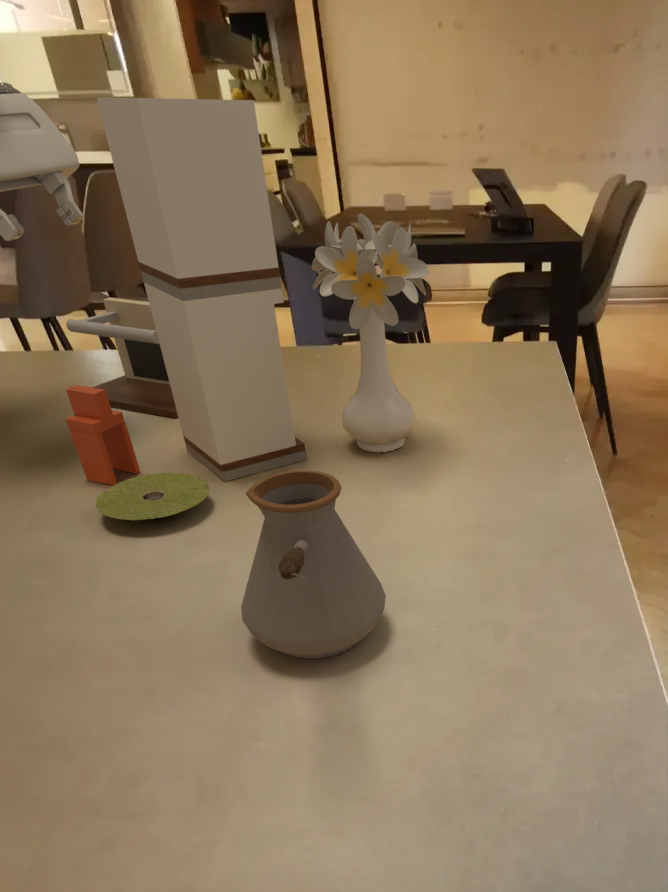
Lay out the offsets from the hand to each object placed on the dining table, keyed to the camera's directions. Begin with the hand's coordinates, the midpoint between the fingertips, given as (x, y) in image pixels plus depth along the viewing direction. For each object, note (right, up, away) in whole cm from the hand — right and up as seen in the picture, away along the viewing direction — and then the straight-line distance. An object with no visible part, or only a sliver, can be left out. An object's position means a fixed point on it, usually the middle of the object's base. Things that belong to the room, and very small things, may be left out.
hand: (47, 229), depth 75 cm
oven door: (-2, -8, +28) cm, 29 cm away
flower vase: (+34, -19, +15) cm, 42 cm away
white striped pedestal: (+18, -21, +12) cm, 30 cm away
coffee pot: (+34, -47, -21) cm, 62 cm away
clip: (+4, -25, +6) cm, 26 cm away
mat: (+12, -31, 0) cm, 33 cm away
